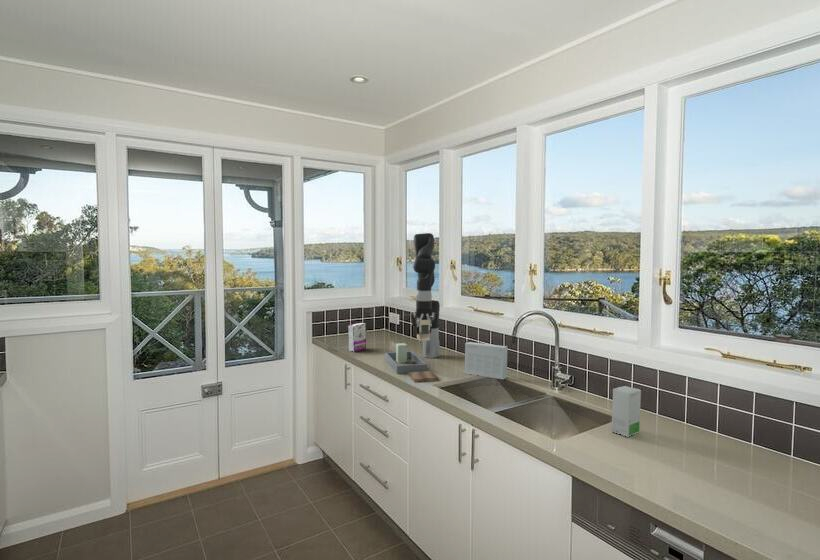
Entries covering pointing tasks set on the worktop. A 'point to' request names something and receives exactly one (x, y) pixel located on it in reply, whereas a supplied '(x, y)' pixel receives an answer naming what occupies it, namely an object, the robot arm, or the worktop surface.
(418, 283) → the robot arm
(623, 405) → the skincare box
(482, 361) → the skincare box
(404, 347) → the sage block
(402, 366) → the grey bin
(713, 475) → the worktop surface
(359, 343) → the candy bar box
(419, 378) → the walnut board
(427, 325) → the birch block
